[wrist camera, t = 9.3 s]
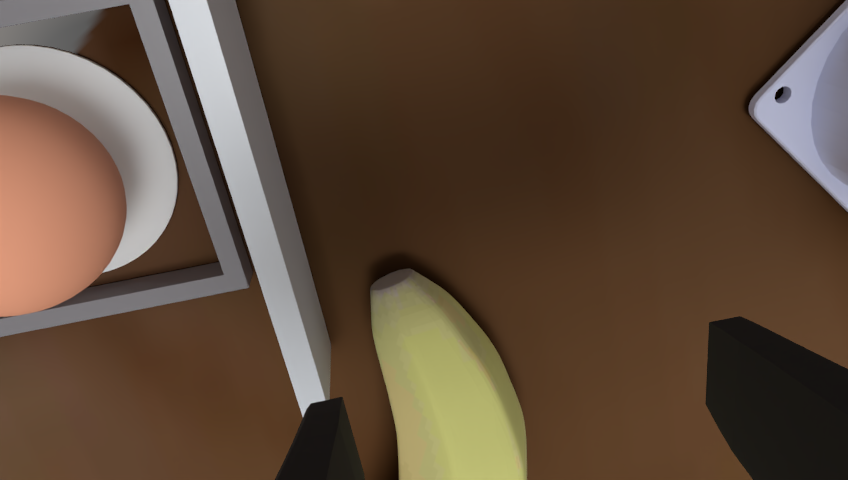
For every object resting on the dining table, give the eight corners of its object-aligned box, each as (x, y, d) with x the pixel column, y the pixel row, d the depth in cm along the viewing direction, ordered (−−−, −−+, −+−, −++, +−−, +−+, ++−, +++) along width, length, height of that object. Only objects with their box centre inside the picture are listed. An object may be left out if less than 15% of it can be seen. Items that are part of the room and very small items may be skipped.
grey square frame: (155, -29, 17) (144, -26, 16) (252, 272, 21) (248, 287, 20) (-199, 36, 17) (-229, 42, 16) (-30, 327, 21) (-47, 346, 20)
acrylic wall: (147, -190, 16) (98, -218, 12) (180, -196, 16) (139, -226, 12) (308, 349, 23) (302, 417, 20) (331, 344, 23) (329, 411, 20)
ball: (-4, 30, 17) (-144, 74, 12) (185, 150, 19) (131, 229, 14) (-89, 188, 19) (-243, 284, 14) (95, 285, 21) (18, 399, 16)
